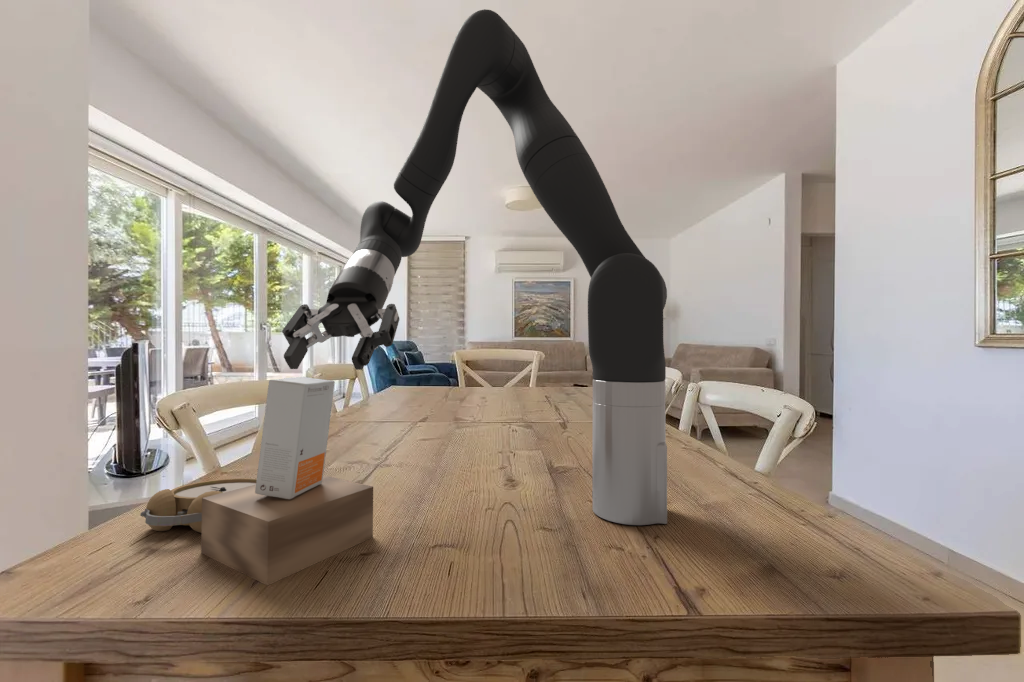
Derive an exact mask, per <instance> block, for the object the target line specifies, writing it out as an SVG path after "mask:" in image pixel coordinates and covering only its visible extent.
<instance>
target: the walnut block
mask: <svg viewBox="0 0 1024 682" xmlns="http://www.w3.org/2000/svg"><path fill="white" fill-rule="evenodd" d="M255 488H256V485H252V486H248V487H244V488H240V489H236V490H232V491H228V492H224V493H220V494H216V495H212V496H208V497H204V498H202V533H200V534H201V536H200V537H201V541H200V543H201V544H200V545H201V547H200V554H202V555H205V556H206V557H208V558H210V559H212V560H214V561H216V562H218V563H221V564H222V565H225V566H227V567H229V568H231V569H233V570H235V571H237V572H239V573H240V574H241V573H242V575H245V576H247V577H249V578H251V579H253V580H256V581H257V582H260V583H262V584H263V585H265V586H267V587H268V586H269V585H272V584H274V583H276V582H279V581H280V580H283V579H285V578H287V577H289V576H292V575H294V574H296V573H298V572H300V571H302V570H304V569H306V568H307V569H308V568H309V567H312V565H315V564H317V563H320V562H322V561H324V560H326V559H329V558H331V557H333V556H335V555H337V554H339V553H341V552H343V551H346V550H348V549H350V548H352V547H354V546H356V545H357V546H358V545H359V544H361V543H363V542H365V541H367V540H370V539H372V538H374V536H373V535H374V486H373V485H372V486H371V485H367V484H364V483H360V482H355V481H349V480H347V479H346V480H345V479H342V478H338V477H335V476H330V475H326V474H323V481H322V484H320V485H318V486H316V487H314V488H311V489H309V490H307V491H305V492H303V493H301V494H299V495H297V496H295V497H294V498H292V499H284V498H279V497H273V496H266V495H260V494H256V493H255Z"/></svg>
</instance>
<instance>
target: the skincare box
mask: <svg viewBox="0 0 1024 682" xmlns="http://www.w3.org/2000/svg"><path fill="white" fill-rule="evenodd" d="M334 390H335V380H329V379H323V378H322V379H321V378H315V377H309V376H300V377H299V376H296V377H284V378H277V379H269V380H268V387H267V396H266V403H265V411H264V419H263V425H262V427H263V428H262V435H261V441H260V450H259V458H258V465H257V466H258V467H257V474H256V479H257V480H256V488H255V493H256V494H260V495H266V496H273V497H279V498H284V499H292V498H294V497H295V496H297V495H299V494H301V493H303V492H305V491H307V490H309V489H311V488H314V487H316V486H318V485H320V484H322V481H323V475H324V473H325V465H326V454H327V447H328V440H329V430H330V422H331V415H332V414H331V413H332V407H333V399H334Z"/></svg>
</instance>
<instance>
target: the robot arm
mask: <svg viewBox="0 0 1024 682" xmlns="http://www.w3.org/2000/svg"><path fill="white" fill-rule="evenodd" d="M440 75H441V76H440V78H439V81H438V83H437V87H436V89H435V92H434V93H433V97H432V101H431V103H430V106H429V109H428V112H427V115H426V118H425V120H424V122H423V125H422V127H421V130H420V132H419V134H418V137H417V138H416V140H415V142H414V145H412V146H413V147H412V148H411V150H410V152H409V154H408V155H407V157H406V159H405V161H404V162H403V165H402V167H401V168H400V170H399V172H398V174H397V176H396V178H395V180H394V182H393V190H394V191H395V193H396V194H397V195H398V196H399V198H401V199H402V200H403V201H404V202H405V203H406V204H407V205H408V206H409V207H410V209H411V212H412V216H410V215H408V214H407V213H406V212H405V213H404V212H403V211H401V210H400V209H398V208H396V207H395V206H394V205H392V204H390V203H388V202H386V201H383V200H382V201H381V200H380V201H377V200H376V201H374V202H372V203H371V204H368V206H367V208H366V209H365V210H364V213H363V215H362V217H361V222H360V230H359V231H360V232H359V234H360V235H359V243H358V245H357V247H356V249H355V250H354V252H353V253H352V255H351V256H350V258H349V259H348V260H347V261H346V262H345V264H344V265H343V267H341V270H340V272H339V274H337V277H336V278H335V280H334V282H333V283H332V285H331V287H330V288H329V291H328V293H327V298H326V302H325V304H323V305H322V306H321V307H319V308H318V309H314V308H313V309H312V308H310V307H309V305H308V304H306V303H304V304H302V305H299V307H298V308H297V310H296V311H295V312H294V314H293V315H292V316H291V317H290V319H289V321H288V322H287V323H286V325H284V327H283V329H282V330H281V332H282V334H283V336H284V337H285V340H286V341H287V343H288V347H287V349H286V351H284V354H283V358H284V360H285V363H286V364H287V366H288V368H289V369H290V370H298V369H299V367H300V365H301V363H302V362H303V360H304V358H305V356H306V354H307V353H308V351H309V349H310V348H311V347H312V346H315V345H316V344H317V343H320V344H321V343H324V342H326V341H328V340H329V339H330V338H338V337H346V338H347V337H348V338H355V336H356V335H360V338H359V340H358V343H357V345H356V348H355V349H354V351H353V354H352V357H351V363H352V365H353V367H354V369H355V370H356V371H357V370H358V371H359V370H360V371H361V370H363V369H364V367H365V366H368V365H369V363H370V361H371V359H372V356H373V354H374V352H375V350H377V349H378V348H379V346H383V347H387V348H388V347H390V346H392V345H393V343H394V339H395V337H396V334H397V329H398V326H399V323H400V316H399V312H398V309H397V307H396V304H394V303H389V304H388V305H386V306H385V308H384V305H385V303H386V301H387V299H388V296H389V295H390V292H391V290H392V287H393V284H394V278H395V276H396V274H397V271H398V269H399V267H400V265H401V262H402V258H406V257H410V256H412V255H413V254H415V253H416V252H417V250H418V249H419V247H420V245H421V241H422V238H423V234H424V230H425V226H426V223H427V222H426V221H427V217H428V215H429V212H430V210H431V207H432V206H433V203H434V201H435V200H436V198H437V196H438V195H439V192H440V191H441V189H442V188H443V186H444V184H445V183H446V180H448V177H449V175H450V174H451V171H452V169H453V166H454V162H455V159H456V156H457V155H456V154H457V147H458V138H459V135H460V134H459V133H460V129H461V128H460V127H461V122H462V119H463V115H464V112H465V109H466V107H467V105H468V103H469V102H470V101H469V100H470V99H471V98H472V96H473V95H474V92H475V91H476V89H479V90H480V91H481V92H483V94H485V95H486V96H487V97H488V98H489V99H490V100H491V101H492V103H494V105H495V106H496V108H497V109H498V110H499V112H500V113H501V114H502V116H503V118H504V119H505V121H506V122H507V124H508V125H509V128H510V129H511V132H512V135H513V140H514V146H515V153H516V154H515V155H516V157H517V161H518V164H519V167H520V169H521V172H522V174H523V176H524V178H525V180H526V182H527V183H528V185H529V187H530V189H531V190H532V192H533V195H534V196H535V197H536V199H537V201H538V202H539V204H540V205H541V207H542V208H543V210H544V211H545V213H546V215H547V216H548V217H549V218H550V219H551V221H552V222H553V224H555V226H556V227H557V228H558V229H559V231H560V232H561V233H562V235H564V237H565V238H566V240H567V241H568V242H569V243H570V244H571V245H572V246H573V248H574V249H575V251H576V252H577V254H578V255H579V257H580V259H581V261H582V263H583V264H584V266H585V268H586V271H587V272H588V275H589V277H590V280H589V284H588V288H587V289H588V290H587V331H588V332H587V333H588V334H587V335H588V354H589V355H588V356H589V358H590V359H589V360H590V362H591V367H592V433H591V434H592V440H591V441H592V443H591V444H592V463H591V464H592V465H591V466H592V472H591V473H592V484H591V485H592V489H591V490H592V492H591V493H592V494H591V496H592V497H591V498H592V512H593V513H594V514H595V515H596V516H598V517H600V518H601V519H604V520H606V521H609V522H613V523H616V524H622V525H629V526H646V525H648V526H649V525H654V524H663V525H666V524H668V446H667V443H666V441H667V437H666V431H667V430H666V429H667V428H666V420H667V419H666V410H667V409H666V406H667V405H666V380H667V379H666V378H667V377H666V372H667V371H666V369H667V368H666V366H667V365H666V356H665V345H664V310H665V307H666V303H667V298H668V290H667V285H666V282H665V279H664V278H663V277H664V276H662V274H661V273H660V271H659V270H658V268H657V267H656V266H655V264H654V263H653V262H652V261H651V260H649V259H648V258H646V256H645V255H644V254H643V252H642V251H641V250H640V248H639V247H638V246H637V244H636V243H635V241H634V240H633V238H632V237H631V235H630V234H629V233H628V232H627V230H626V229H625V226H624V225H623V222H622V221H621V219H620V216H619V214H618V212H617V209H616V207H615V205H614V202H613V201H612V199H611V196H610V194H609V193H610V192H608V188H607V187H606V185H605V183H604V180H603V179H602V176H601V174H600V172H599V171H598V169H597V166H596V165H595V162H594V160H593V159H592V157H591V156H590V154H589V152H588V151H587V149H586V147H585V146H584V144H583V142H582V141H581V139H580V138H579V136H578V135H577V133H576V132H575V131H574V128H572V125H571V124H570V123H569V122H568V120H567V118H566V117H565V116H564V115H563V114H562V112H561V111H560V110H559V109H558V107H557V106H556V105H555V104H554V102H553V101H552V99H551V98H550V97H549V95H548V94H547V92H546V91H547V90H545V87H544V85H543V83H542V80H541V79H540V77H539V74H538V72H537V69H536V67H535V64H534V63H533V60H532V57H531V56H530V53H529V51H528V49H527V46H526V45H525V44H524V42H523V41H522V40H521V39H520V37H519V36H518V35H517V34H516V33H515V32H514V30H513V29H512V27H511V26H509V24H508V23H507V22H506V21H505V20H504V18H503V17H501V15H499V14H498V13H497V12H496V11H494V10H491V9H480V10H477V11H475V12H473V13H472V14H471V15H469V16H468V17H467V18H466V19H465V21H464V22H463V24H462V25H461V26H460V28H459V30H458V31H457V33H456V35H455V38H454V40H453V42H452V45H451V47H450V50H449V53H448V55H447V59H446V61H445V64H444V67H443V68H442V72H441V74H440ZM379 320H381V322H380V325H379V328H378V330H377V331H373V329H372V328H371V327H372V326H373V325H375V324H376V323H377V322H378V321H379ZM320 324H321V325H322V326H323V328H324V330H323V332H322V331H321V329H320V327H319V326H320ZM309 334H312V335H311V336H309V337H308V338H307V337H306V336H307V335H309Z"/></svg>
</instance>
